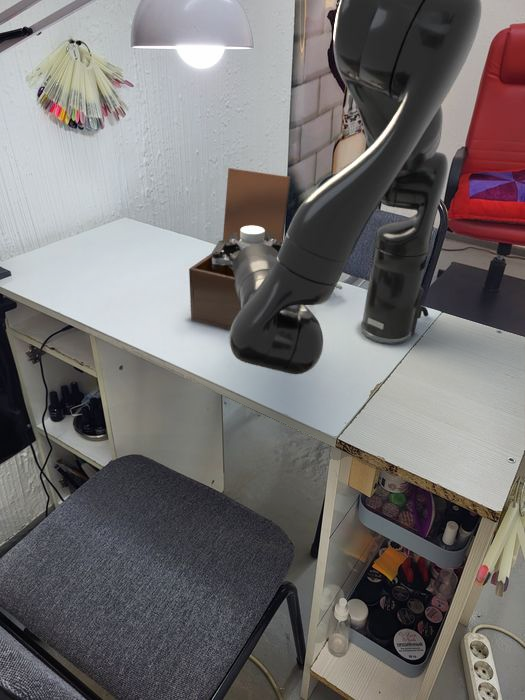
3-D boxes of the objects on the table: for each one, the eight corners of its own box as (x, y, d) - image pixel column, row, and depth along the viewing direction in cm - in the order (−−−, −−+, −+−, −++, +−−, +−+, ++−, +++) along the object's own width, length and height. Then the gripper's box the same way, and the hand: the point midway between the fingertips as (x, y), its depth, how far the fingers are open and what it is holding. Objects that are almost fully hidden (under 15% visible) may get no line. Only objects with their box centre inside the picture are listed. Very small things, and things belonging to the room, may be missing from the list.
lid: (289, 177, 96) (290, 176, 96) (228, 168, 100) (230, 167, 101) (279, 254, 101) (281, 254, 102) (222, 243, 106) (224, 242, 106)
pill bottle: (249, 269, 92) (251, 222, 87) (270, 277, 89) (273, 229, 85) (231, 277, 88) (232, 229, 84) (253, 285, 86) (254, 236, 82)
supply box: (249, 335, 97) (251, 282, 91) (191, 320, 101) (188, 268, 96) (277, 305, 108) (280, 256, 102) (223, 292, 112) (223, 245, 106)
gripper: (313, 254, 72) (294, 215, 87) (209, 254, 71) (207, 215, 85) (309, 302, 76) (291, 258, 91) (210, 304, 75) (208, 259, 89)
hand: (250, 237), depth 88 cm, fingers closed on pill bottle, 4 cm apart
